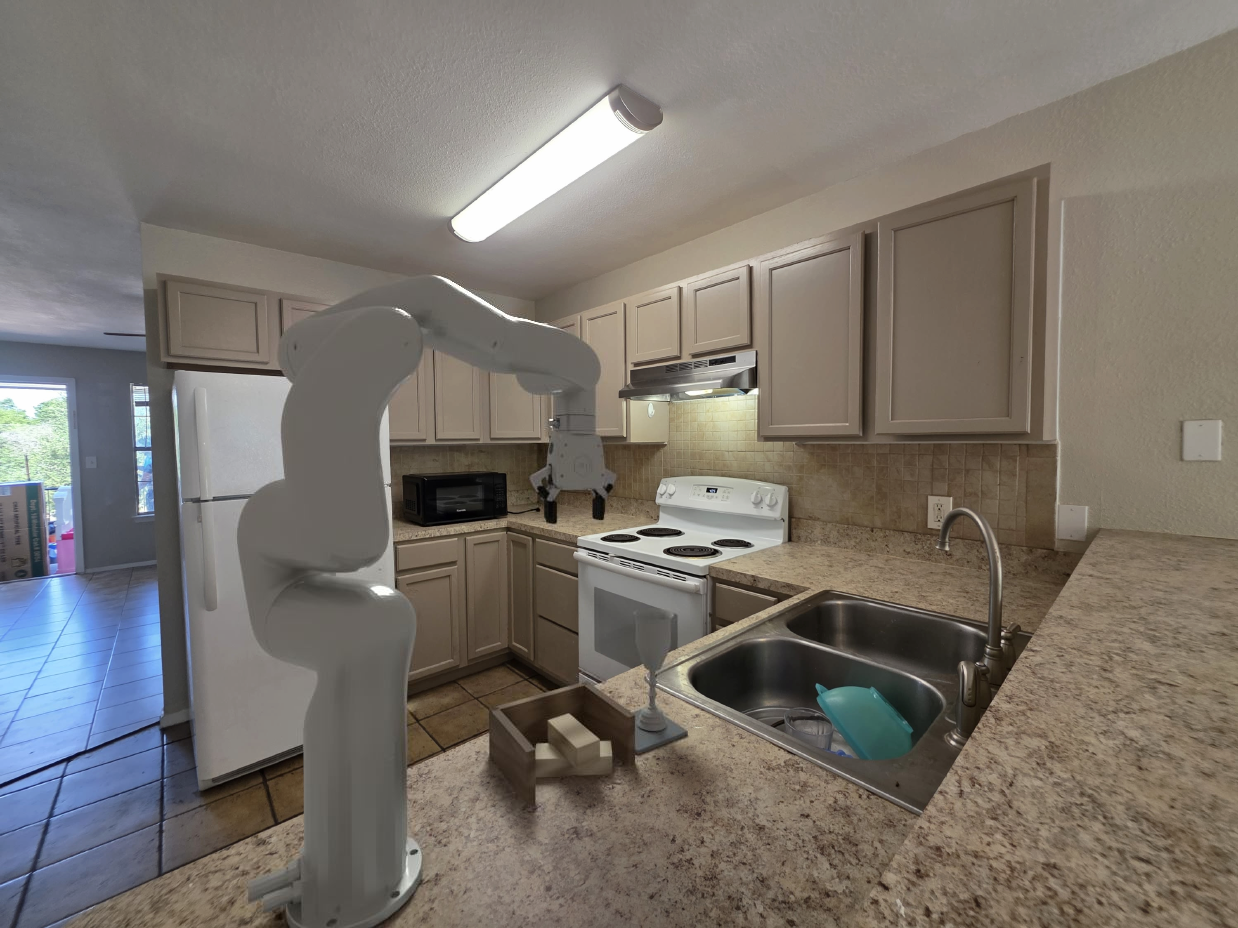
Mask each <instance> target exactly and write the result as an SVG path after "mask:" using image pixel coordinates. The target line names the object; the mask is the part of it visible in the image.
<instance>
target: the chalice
mask: <svg viewBox="0 0 1238 928" xmlns="http://www.w3.org/2000/svg"><path fill="white" fill-rule="evenodd" d="M632 613H633V616H634V618H635V646H636V649H637V652H638V655H639V658H640V661H641V662H642V664H643V667H644V669H645V670H647V671H649V678H648V679H649V680H648V681H647V683H648V684H649V690H648V692H647V693H646V695H648V697H649V702H648V704H647V706H645V707H643V708H642V709H643V710H642V711H641V714H640V716H639V719H638V721H637V725H638V726H639V727H640V728H642V729H644V730H648V731H659V730H662V729H664V728H666V727H667V722H666V720H665V717H664V716H665V715H664V711H663V710H662V709H661V707H659V706H657V705H656V697H657V696H658V692H657V690H656V686H657V684H658V681H657V678H656V674H657V671H659V670H661V669H662V667H663V665H664V662H665V661H666V658H667V656H668V654H669V650H670V648H671V644H672V640H671V639H672V620H673V618H674V616H675V614H674V612H672V611H670V610H667V609H662V608H654V607H653V608H652V607H651V608H650V607H647V608H640V609H636V610H634V611H633V612H632Z"/></svg>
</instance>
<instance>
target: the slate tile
mask: <svg viewBox="0 0 1238 928" xmlns="http://www.w3.org/2000/svg"><path fill="white" fill-rule="evenodd" d="M642 710H643V708H641V709H639V710H636V711H635V710H634V711H632V712H631V713H633V714H634V715H635V754H636V753H637V754H638V755H640V754H642V752H643V753H645V752H648V751H651V750H652V748H653V749H655V748H658V747H661V746H662V745H666V744H668V743H670V742H669V741H671V742H673V741H676V740H678V739H680V737H681V738H683V737H686V736H688V733H689V732H688V730H687V729H686V728H684V727H682V726H681V725H679V724H678V723H676V722H674V720H671V719H670V718H669V717H667V716H666V715H664V717H665V720H666V722H667V727H666V728H664V729H662V730H659V731H648V730H644V729H642V728H640V727H639V726H638V725H637V721H638V719H639V716H640V714H641V711H642ZM685 735H686V736H685ZM675 739H676V740H675ZM672 740H673V741H672ZM667 742H668V743H667ZM665 743H666V744H665ZM660 745H661V746H660ZM647 750H648V751H647ZM637 754H636V755H637Z"/></svg>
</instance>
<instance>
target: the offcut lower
mask: <svg viewBox="0 0 1238 928" xmlns="http://www.w3.org/2000/svg"><path fill="white" fill-rule="evenodd" d="M535 754H536V778H552V777H553V778H554V777H555V778H557V777H573V776H572V775H579V776H598V775H613V752H612V748H611V741H600V761H599V762H597V763H594V764H592V765H590V766H587V767H585V768H582V769H580V770H577V769H576V768H575V767H574V766H573V765H572V764H571V763H570V762H569V761H568V760H567V759H566V758H565V757H564V756H563V755H562V754H561V753H560V752H559V751H558V750H557V749H556V748H555V747H554V746H553V745H552V744H551V743H550V742H547V743H546V742H545V743H543V742H540V743H537V744H535Z"/></svg>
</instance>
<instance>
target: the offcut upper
mask: <svg viewBox="0 0 1238 928" xmlns="http://www.w3.org/2000/svg"><path fill="white" fill-rule="evenodd" d="M547 723H548V740H547V741H548V743H551V744H552V745H553V746H554V747H555V748H556V749H557V750H558V751H559V752H560V753H561V754H562V755H563V756H564V757H565V758H566V759H567V760H568V761H569V762H570V763H571V764H572V765H573V766H574V767H575V768H576V769H577V770H580V769H582V768H585V767H587V766H590V765H592V764H594V763H597V762H599V761H600V739H599V738H597V737H596V736H595V735H594V734H593V733H591V732H590V731H589V730H588V729H587V728H586V727H584V726H583V725H582V724H581V723H580V722H578V721H577V720H576V719H575V718H574V717H573V716H571V715H570V714H569V713H568V714H565V715H562V716H559V717H556V718H553V719H550V720H547Z"/></svg>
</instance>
